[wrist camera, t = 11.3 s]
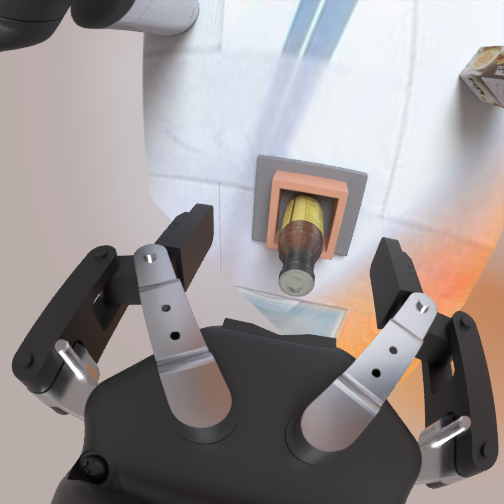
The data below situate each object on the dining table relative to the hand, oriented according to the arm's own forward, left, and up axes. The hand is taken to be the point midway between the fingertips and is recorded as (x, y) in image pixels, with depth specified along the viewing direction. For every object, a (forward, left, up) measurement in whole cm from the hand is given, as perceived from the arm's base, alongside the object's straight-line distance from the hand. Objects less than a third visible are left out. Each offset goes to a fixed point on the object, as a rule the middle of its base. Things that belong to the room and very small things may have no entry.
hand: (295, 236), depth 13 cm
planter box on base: (+1, -14, -34) cm, 37 cm away
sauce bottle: (+1, -14, -32) cm, 35 cm away
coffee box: (+28, +18, -34) cm, 47 cm away
